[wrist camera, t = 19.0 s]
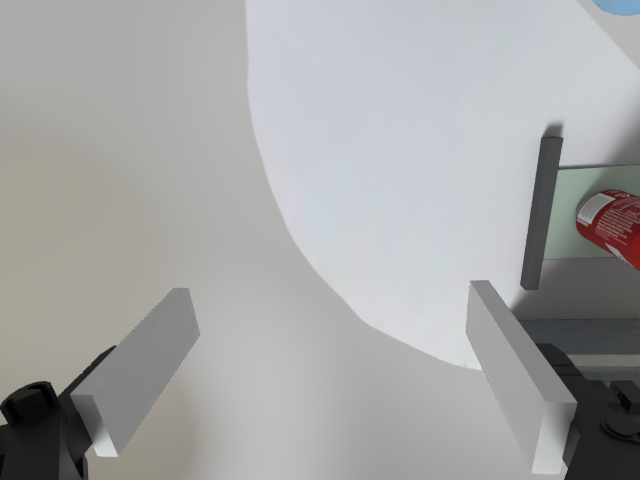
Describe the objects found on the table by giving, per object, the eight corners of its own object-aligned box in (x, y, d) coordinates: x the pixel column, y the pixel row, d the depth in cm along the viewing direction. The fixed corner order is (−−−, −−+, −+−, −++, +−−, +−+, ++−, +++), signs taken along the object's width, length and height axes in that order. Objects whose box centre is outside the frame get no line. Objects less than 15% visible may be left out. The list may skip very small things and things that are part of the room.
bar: (541, 137, 42) (548, 139, 40) (555, 136, 41) (563, 137, 40) (520, 284, 49) (525, 290, 47) (532, 284, 49) (537, 289, 47)
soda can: (560, 214, 44) (629, 252, 33) (611, 176, 42) (703, 203, 31) (591, 248, 45) (666, 296, 34) (641, 213, 43) (740, 253, 32)
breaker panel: (503, 311, 51) (618, 474, 28) (655, 308, 48) (910, 486, 26) (500, 336, 52) (606, 510, 30) (646, 336, 50) (879, 524, 28)
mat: (556, 169, 43) (558, 170, 42) (664, 163, 41) (667, 163, 41) (541, 257, 47) (543, 259, 47) (639, 254, 46) (641, 256, 45)
